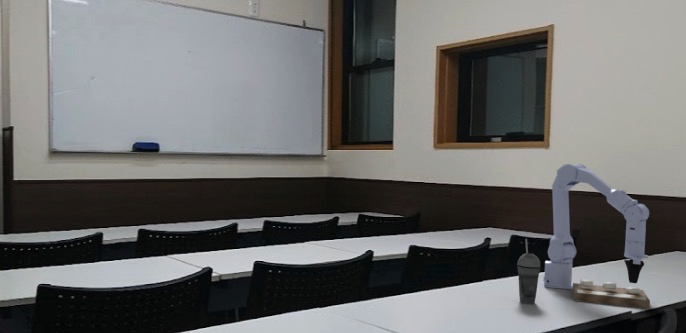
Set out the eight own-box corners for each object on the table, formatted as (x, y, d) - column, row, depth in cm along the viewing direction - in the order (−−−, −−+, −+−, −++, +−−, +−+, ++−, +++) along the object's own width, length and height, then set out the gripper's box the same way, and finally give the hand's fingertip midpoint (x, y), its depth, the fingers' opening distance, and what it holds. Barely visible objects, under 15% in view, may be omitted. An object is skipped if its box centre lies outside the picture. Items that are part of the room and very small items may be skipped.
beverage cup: (536, 306, 184) (538, 241, 183) (512, 302, 188) (515, 239, 187) (541, 301, 190) (544, 239, 189) (518, 298, 194) (521, 236, 193)
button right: (626, 293, 194) (626, 288, 194) (625, 291, 197) (625, 286, 197) (640, 294, 192) (640, 290, 192) (638, 292, 196) (638, 287, 196)
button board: (573, 300, 193) (574, 291, 193) (572, 290, 209) (573, 282, 208) (649, 308, 186) (649, 299, 186) (642, 297, 201) (643, 289, 201)
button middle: (603, 288, 196) (603, 283, 196) (602, 285, 200) (602, 281, 200) (616, 289, 195) (616, 284, 195) (615, 287, 198) (615, 282, 198)
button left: (580, 286, 198) (580, 281, 198) (579, 283, 202) (580, 278, 202) (593, 287, 197) (593, 282, 197) (592, 284, 201) (592, 280, 201)
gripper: (652, 245, 186) (649, 288, 187) (645, 239, 200) (643, 279, 200) (627, 243, 189) (625, 286, 189) (622, 237, 202) (620, 277, 203)
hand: (633, 282), depth 195 cm, fingers closed
